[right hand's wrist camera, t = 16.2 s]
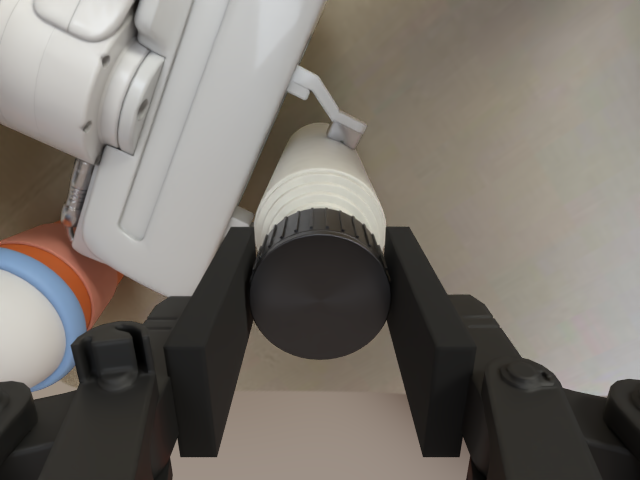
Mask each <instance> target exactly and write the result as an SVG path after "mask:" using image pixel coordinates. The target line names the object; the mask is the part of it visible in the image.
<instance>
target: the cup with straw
mask: <svg viewBox="0 0 640 480" xmlns="http://www.w3.org/2000/svg"><path fill="white" fill-rule="evenodd" d="M73 231H74V234H75V231H76V227H74V228H73ZM123 276H124V275H123V274H121V273H120V272H118V271H116V270H115V269H113V268H112V267H110V266H108V265H107V264H104V263H101V262H98V261H96V260H94V259H91V258H89V257H86V256H84V255H82V254H80V253H78V252H77V251H75V250H74V249H73V247H72V244H71V243H70V241H69V240H68V237H67V234H66V230H65V226H64V225H62V224H61V221H60V220H59V221H57V222H54V223H50V224H43V225H40V226H37V227H34V228H31V229H29V230H26V231H24V232H21V233H19V234H16V235H14V236H11V237H8V238H6V239H3V240H1V241H0V382H6V381H16V382H21V383H24V384H25V385H27V386H28V387H29V388H30V390H31V392H34V391H37V390H41V389H43V388H46V387H48V386H50V385H52V384H54V383H56V382H57V381H59V380H60V379H62V378H63V377H64V376H65V375H67V374H68V373H69V372H70V371H71V370H72V368H73V367H74V366H75V362H74V358H73V354H72V350H71V346H70V345H71V344H72V343H73V342H74V341H75V340H76V338H77V337H79V336H80V335H82V334H83V333H85V332H86V331H88V330H90V329H91V328H92V327H93V325H94V324H95V322H96V321H97V319H98V318H99V316H100V315H101V313H102V312H103V311H104V309H105V308H106V306H107V305H108V303H109V302H110V300H111V299H112V297H113V295H114V293H115V291H116V287H117V285H118V284H119V282H120V281H121V279H122V278H123Z"/></svg>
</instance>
